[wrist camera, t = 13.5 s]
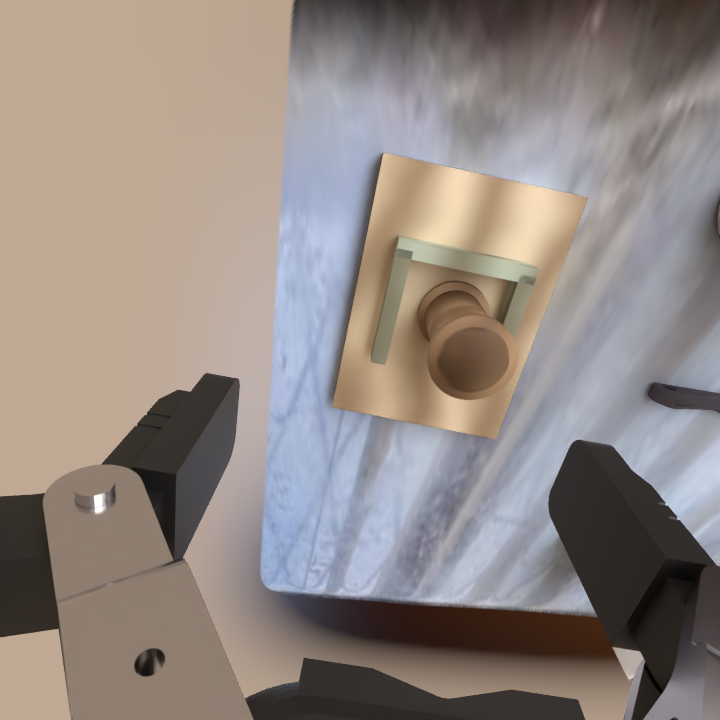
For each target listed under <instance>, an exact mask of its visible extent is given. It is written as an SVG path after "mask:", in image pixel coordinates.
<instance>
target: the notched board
mask: <svg viewBox="0 0 720 720" xmlns="http://www.w3.org/2000/svg"><path fill="white" fill-rule="evenodd" d="M587 200H588V198H587V197H582V196H578V195H573V194H569V193H564V192H560V191H555V190H551V189H546V188H541V187H537V186H532V185H528V184H523V183H519V182H514V181H510V180H505V179H501V178H496V177H491V176H487V175H482V174H478V173H473V172H469V171H464V170H460V169H455V168H451V167H446V166H441V165H437V164H432V163H428V162H423V161H419V160H414V159H410V158H405V157H401V156H396V155H391V154H387V153H383V157H382V162H381V167H380V172H379V177H378V182H377V187H376V192H375V197H374V202H373V207H372V212H371V217H370V222H369V226H368V231H367V236H366V241H365V246H364V251H363V256H362V261H361V266H360V271H359V276H358V281H357V286H356V291H355V296H354V301H353V306H352V311H351V316H350V321H349V325H348V330H347V335H346V340H345V345H344V350H343V355H342V360H341V365H340V370H339V375H338V380H337V385H336V390H335V395H334V400H333V405H332V407H335V408H340V409H345V410H350V411H355V412H360V413H365V414H370V415H375V416H380V417H385V418H390V419H396V420H401V421H406V422H411V423H416V424H421V425H426V426H431V427H436V428H441V429H446V430H451V431H457V432H462V433H467V434H472V435H477V436H482V437H487V438H492V439H496V438H497V435H498V433H499V430H500V427H501V425H502V422H503V419H504V417H505V414H506V412H507V409H508V406H509V404H510V401H511V399H512V396H513V393H514V391H515V388H516V385H517V383H518V380H519V378H520V375H521V372H522V370H523V367H524V365H525V362H526V359H527V357H528V354H529V352H530V349H531V346H532V344H533V341H534V338H535V336H536V333H537V331H538V328H539V325H540V323H541V320H542V318H543V315H544V312H545V310H546V307H547V305H548V302H549V299H550V297H551V294H552V291H553V289H554V286H555V284H556V281H557V278H558V276H559V273H560V271H561V268H562V265H563V263H564V260H565V258H566V255H567V252H568V250H569V247H570V244H571V242H572V239H573V237H574V234H575V231H576V229H577V226H578V224H579V221H580V218H581V216H582V213H583V210H584V208H585V205H586V203H587ZM447 281H464V282H467V283H470V284H472V285H473V286H475V287H476V288H478V289H479V290H480V291H481V292H482V294H483V295H484V297H485V298H486V300H487V302H488V304H489V307H490V317H491V318H494V319H496V320H497V321H499V322H500V323H502V324H503V325H504V326H505V327H506V328H507V329H508V331H509V332H510V334H511V335H512V336H513V338H514V340H515V342H516V345H517V348H518V364H517V368H516V371H515V373H514V375H513V377H512V378H511V380H510V381H509V382H508V383H507V384H506V385H505V386H504V387H503V388H502V389H501V390H499V391H498V392H496V393H495V394H493V395H491V396H489V397H486V398H482V399H478V400H462V399H457V398H454V397H451V396H449V395H447V394H445V393H444V392H443V391H441V390H440V389H439V388H438V387H437V386H436V385H435V383H434V382H433V380H432V379H431V376H430V374H429V370H428V365H427V349H428V346H429V342H428V341H427V340H426V339H425V338H424V336H423V335H422V333H421V330H420V327H419V323H418V309H419V306H420V303H421V301H422V299H423V298H424V296H425V295H426V294H427V292H428V291H430V290H431V289H432V288H433V287H435V286H437V285H438V284H441V283H443V282H447Z"/></svg>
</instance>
